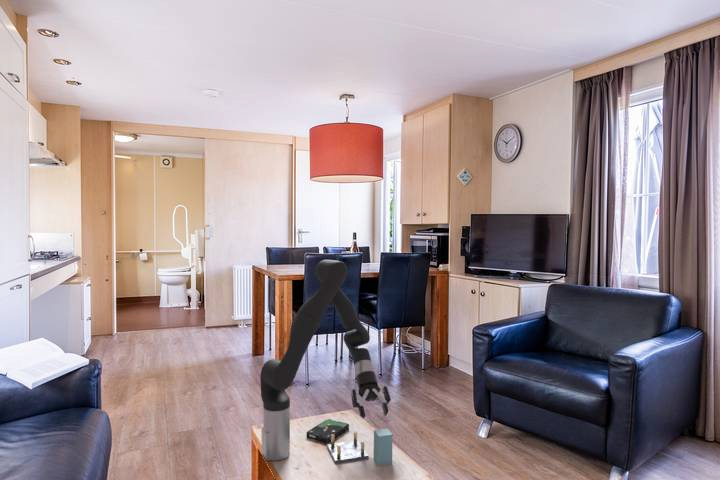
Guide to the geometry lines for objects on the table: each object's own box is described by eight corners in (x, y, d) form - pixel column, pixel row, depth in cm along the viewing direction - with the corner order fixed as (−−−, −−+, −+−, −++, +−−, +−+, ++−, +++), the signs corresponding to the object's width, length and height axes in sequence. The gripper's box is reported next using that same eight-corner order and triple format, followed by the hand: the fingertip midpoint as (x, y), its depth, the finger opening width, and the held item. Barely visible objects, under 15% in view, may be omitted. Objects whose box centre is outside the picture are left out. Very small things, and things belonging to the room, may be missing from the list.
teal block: (378, 465, 154) (378, 436, 154) (373, 458, 159) (373, 430, 159) (392, 463, 156) (392, 434, 155) (386, 456, 160) (387, 428, 160)
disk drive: (328, 446, 169) (349, 430, 182) (328, 438, 169) (349, 423, 181) (305, 439, 174) (328, 424, 187) (305, 432, 174) (328, 417, 187)
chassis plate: (335, 463, 155) (335, 449, 155) (327, 447, 167) (327, 433, 166) (368, 458, 159) (368, 444, 159) (358, 442, 170) (358, 429, 170)
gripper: (349, 371, 171) (358, 414, 160) (385, 368, 175) (396, 409, 165) (345, 381, 176) (354, 422, 165) (380, 377, 180) (390, 417, 170)
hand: (375, 416), depth 165 cm, fingers open, 8 cm apart
